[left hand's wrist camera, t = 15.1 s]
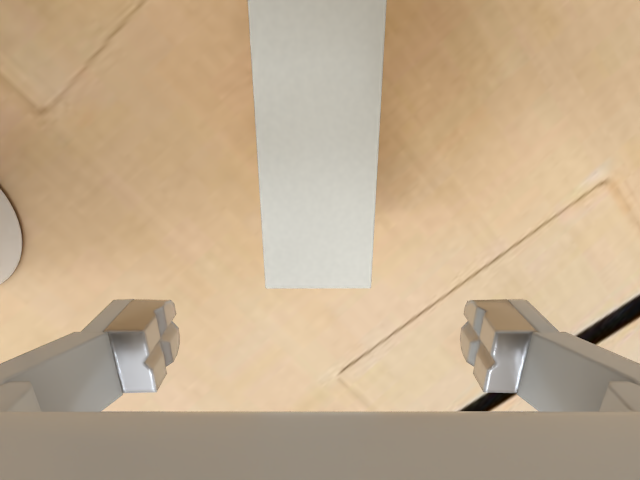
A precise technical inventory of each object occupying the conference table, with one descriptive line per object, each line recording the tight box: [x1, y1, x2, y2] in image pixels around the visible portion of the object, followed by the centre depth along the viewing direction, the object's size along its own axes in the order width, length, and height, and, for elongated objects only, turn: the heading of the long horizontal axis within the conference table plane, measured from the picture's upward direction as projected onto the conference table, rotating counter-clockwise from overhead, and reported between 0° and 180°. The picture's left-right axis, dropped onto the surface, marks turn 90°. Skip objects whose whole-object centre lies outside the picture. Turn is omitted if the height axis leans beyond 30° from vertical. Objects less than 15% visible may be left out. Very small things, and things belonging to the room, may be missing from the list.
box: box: [248, 0, 387, 288], centre depth 23 cm, size 25×6×13 cm, turn 0°
